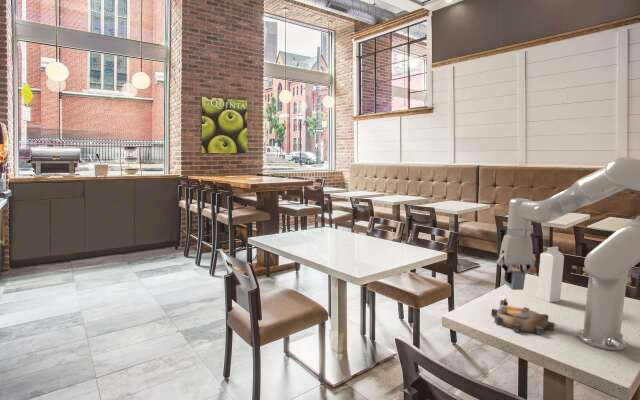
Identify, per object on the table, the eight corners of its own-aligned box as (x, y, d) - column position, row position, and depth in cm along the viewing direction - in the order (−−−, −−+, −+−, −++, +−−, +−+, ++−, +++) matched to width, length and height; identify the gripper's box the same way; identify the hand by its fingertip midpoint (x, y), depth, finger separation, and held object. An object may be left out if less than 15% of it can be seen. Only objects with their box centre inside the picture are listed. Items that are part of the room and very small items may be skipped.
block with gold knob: (507, 310, 149) (508, 299, 148) (503, 310, 149) (504, 299, 148) (504, 307, 151) (504, 296, 150) (500, 307, 151) (500, 296, 150)
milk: (536, 297, 162) (540, 245, 160) (547, 295, 164) (551, 244, 162) (549, 302, 157) (554, 249, 154) (560, 301, 159) (565, 248, 156)
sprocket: (556, 319, 140) (557, 307, 139) (549, 340, 124) (551, 326, 123) (497, 306, 151) (498, 295, 151) (485, 323, 136) (485, 311, 135)
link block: (523, 289, 140) (525, 273, 139) (512, 289, 140) (514, 273, 138) (514, 282, 146) (516, 267, 144) (503, 282, 146) (505, 267, 144)
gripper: (534, 231, 144) (530, 278, 146) (490, 230, 143) (486, 278, 146) (547, 235, 137) (542, 285, 139) (501, 234, 136) (496, 285, 138)
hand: (514, 281), depth 142 cm, fingers closed on link block, 3 cm apart
